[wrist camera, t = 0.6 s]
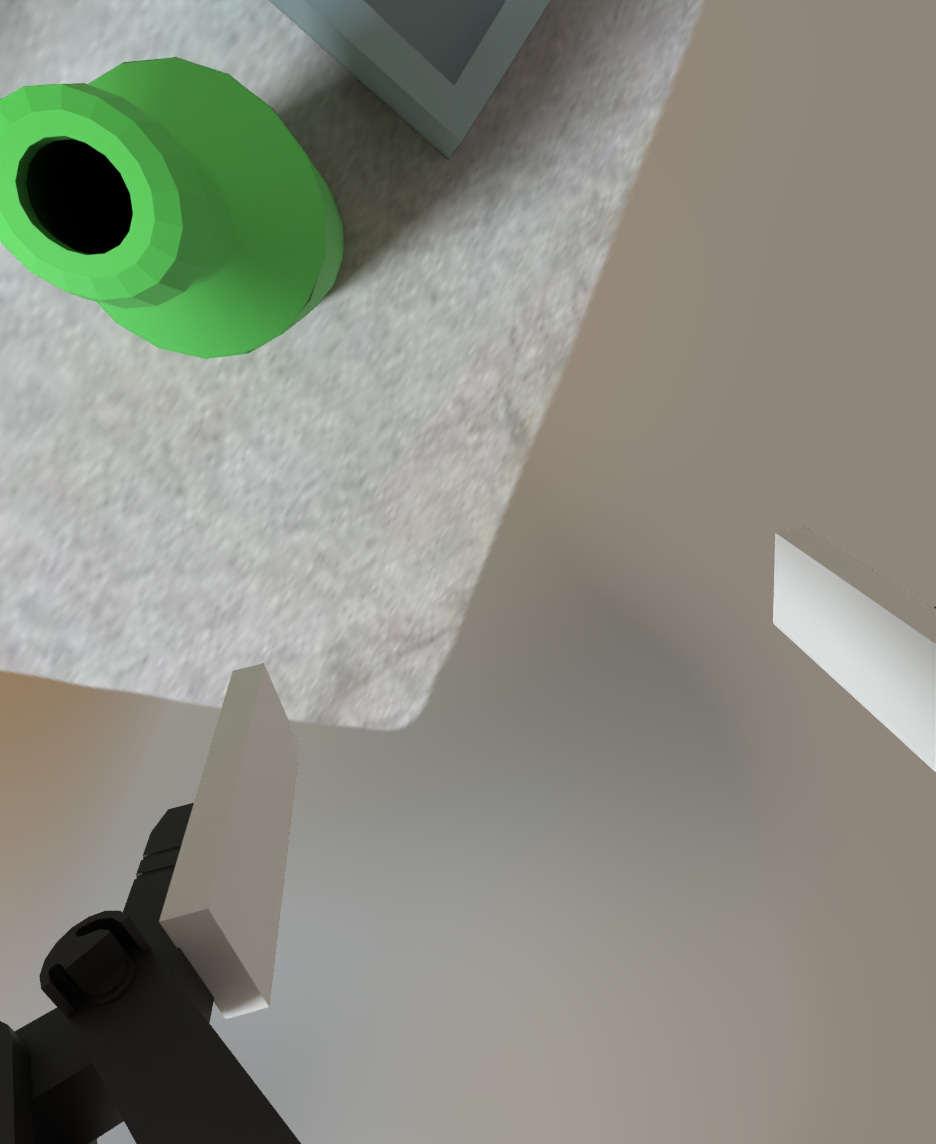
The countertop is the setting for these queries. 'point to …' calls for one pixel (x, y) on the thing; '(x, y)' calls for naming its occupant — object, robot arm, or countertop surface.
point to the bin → (422, 53)
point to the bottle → (168, 205)
